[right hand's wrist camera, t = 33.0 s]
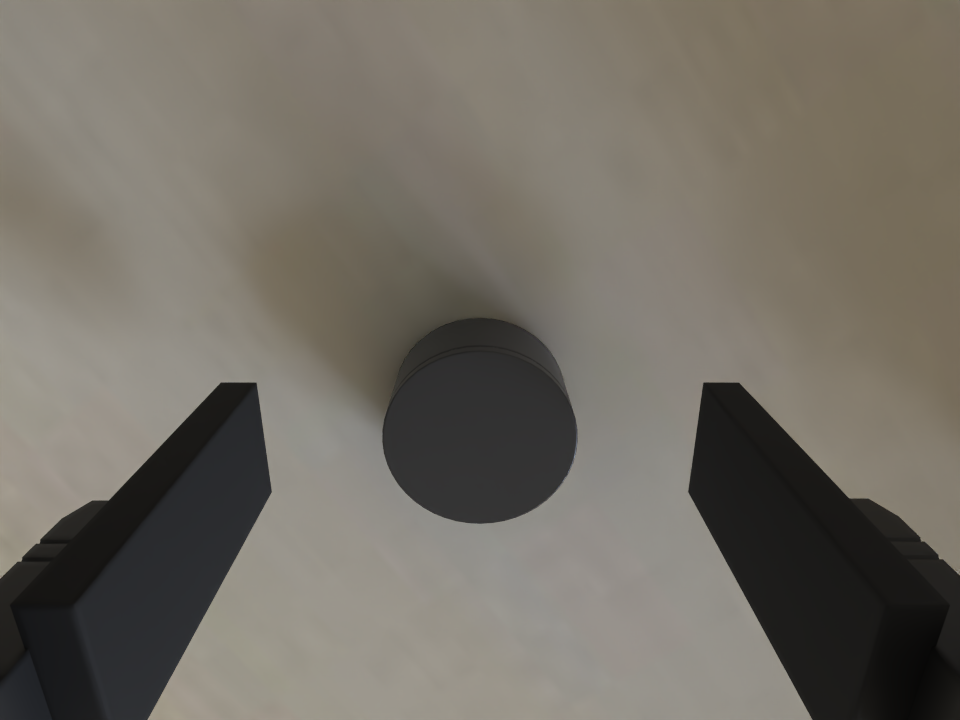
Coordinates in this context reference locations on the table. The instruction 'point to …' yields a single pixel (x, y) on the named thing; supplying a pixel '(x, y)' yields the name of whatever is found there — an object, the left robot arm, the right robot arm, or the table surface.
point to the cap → (479, 422)
